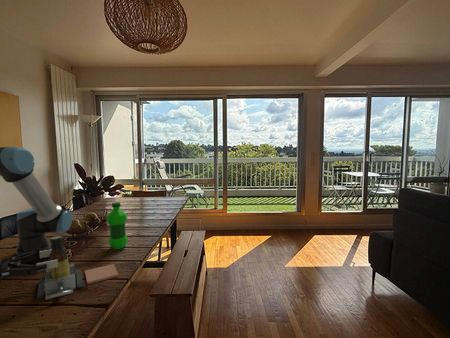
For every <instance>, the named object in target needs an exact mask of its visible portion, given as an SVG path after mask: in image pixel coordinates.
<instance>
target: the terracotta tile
mask: <svg viewBox="0 0 450 338" xmlns="http://www.w3.org/2000/svg"><path fill="white" fill-rule="evenodd" d="M115 265H116V264H114V263H111V264H107V265H103V266H99V267H95V268H90V269H87V270H84V274H85V280H86V284H87V285H91V284H94V283H95V284H96V283H98V282H102V281H105V280H106V281H107V280H110V279H111V280H112V279H115V278H117V277H119V273H118V271H117V268H116V266H115Z"/></svg>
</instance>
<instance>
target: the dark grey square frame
mask: <svg viewBox="0 0 450 338" xmlns="http://www.w3.org/2000/svg"><path fill="white" fill-rule="evenodd" d="M68 264H69V263H68ZM69 272H70V275H66V276H62V277H57V278H53V279H52V276H51V269H46V270H45V276H43V277H39V281H38V286H37V292H36V297H37V299H38V300H39V299H41V298H45V300H51V299H54V298H55V299H56V298H58V297H62V296H65V295H69V294H73V293H74V290H76V289H79V288H80V289H81V288H83V287H84V280H83V274H82V273H83V272H82V268H77V269H75V263H74V262H73V263H70V264H69Z"/></svg>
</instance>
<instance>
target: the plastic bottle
mask: <svg viewBox="0 0 450 338" xmlns="http://www.w3.org/2000/svg"><path fill="white" fill-rule="evenodd" d="M111 207H112V210H111V211H110V212H109V213H108V215H107V216H106V222H107V224H108V225H109V239H108V244H109V246H110V247H111V248H112V249H114V250H121V249H123V248H124V247H125V246H126V245H127V243H128V242H129V241H128V240H129V239H128V236H127V234H126V222H127V221H128V214H127V213H126V212H125V211H123V210H122V209H120V207H122V206H121V202H119V201H118V202H117V201H116V202H112V204H111Z"/></svg>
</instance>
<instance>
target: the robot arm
mask: <svg viewBox="0 0 450 338" xmlns="http://www.w3.org/2000/svg"><path fill="white" fill-rule="evenodd" d="M34 167H35V158H34V156H33V153H32V152H31V151H29V150H28V149H27V148H24V147H21V146H13V145H12V146H0V177H1V178H2V179H3V180H4V181H5V182H6V183H10V184H12V185H13V186H14V187H15V189H16V190H17V191H18V192H19V194H21V195H22V197H23V198H24V200H26V202H27V203H28V204H29V206H30V207H31V208H30V209H25V210H22V211H20V212H18V213H16V225H17V235H18V242H17V245H16V249H15V256H10V257H8V260H6V261H4V259H3V258H2V257H0V280H1V279H3V278H10V277H26V276H28V277H29V276H34V275H37V274H38V273H37V272H41V271H46V269H51V268H55V267H58V261H57V260H52V261H50V260H48V261H43V262H37V263H36V264H27V263H29V262H31V261H34V260H36V259H38V258H39V259H43V258H49V255H50V253H51V251H52V248H51V244H50V243H51V242H49V241H50V240H49V239H48V238H47V236H46V234H61V233H66V232H67V231H69V229H70V228H71V226H72V223H73V213H72V212H71V211H70V210H67V209H66V210H64V209H63V208H62V206H61V205H60V204H58V203H55V202H54V201H53V200H52V198H51V197H50V196H49V193H47V191H46V189H45V188H44V187H43V186H42V184H41V183H40V181H39V180H38V178H37V177H36V176H35V174H34V169H35V168H34ZM49 248H50V249H49ZM47 249H49V250H47ZM43 250H44V251H43ZM16 255H17V256H16Z"/></svg>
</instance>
